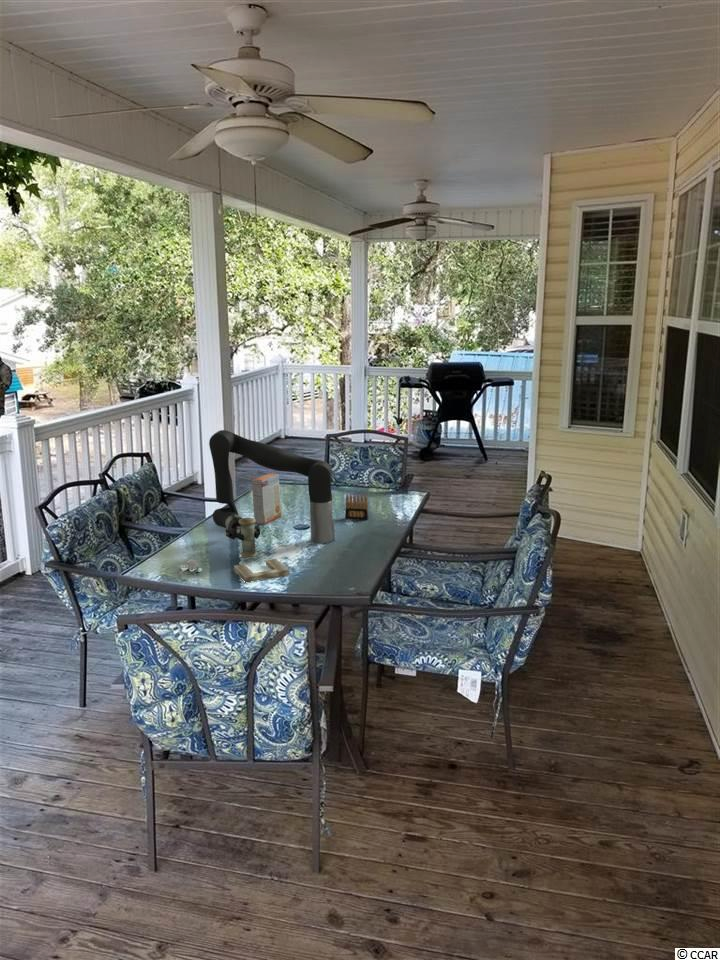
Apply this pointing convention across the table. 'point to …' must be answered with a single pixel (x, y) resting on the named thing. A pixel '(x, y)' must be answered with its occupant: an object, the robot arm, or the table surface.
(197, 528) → the table surface
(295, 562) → the table surface
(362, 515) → the ammunition clip
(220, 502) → the robot arm
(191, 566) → the white curved piece
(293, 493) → the table surface
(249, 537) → the bobbin
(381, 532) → the table surface
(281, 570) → the tan u-shaped bracket
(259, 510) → the cracker box
